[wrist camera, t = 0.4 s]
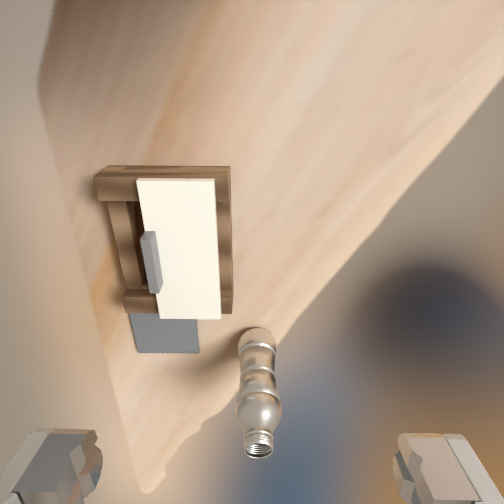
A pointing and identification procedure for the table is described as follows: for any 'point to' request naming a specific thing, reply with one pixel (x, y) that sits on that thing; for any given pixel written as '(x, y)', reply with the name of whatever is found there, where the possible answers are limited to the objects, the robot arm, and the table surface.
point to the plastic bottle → (257, 392)
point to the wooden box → (128, 234)
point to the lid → (181, 246)
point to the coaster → (164, 334)
